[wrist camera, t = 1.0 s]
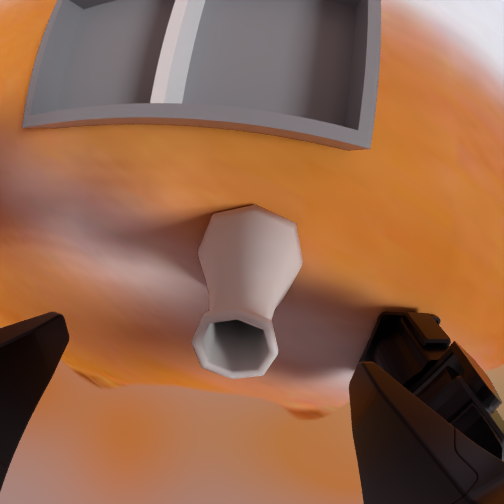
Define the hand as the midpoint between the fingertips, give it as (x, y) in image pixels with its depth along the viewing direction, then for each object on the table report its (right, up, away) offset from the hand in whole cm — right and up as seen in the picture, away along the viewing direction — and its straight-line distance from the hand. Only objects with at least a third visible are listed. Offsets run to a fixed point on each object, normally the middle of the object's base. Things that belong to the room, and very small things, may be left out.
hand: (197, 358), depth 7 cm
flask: (+1, +3, +12) cm, 13 cm away
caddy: (-2, +17, +7) cm, 18 cm away
